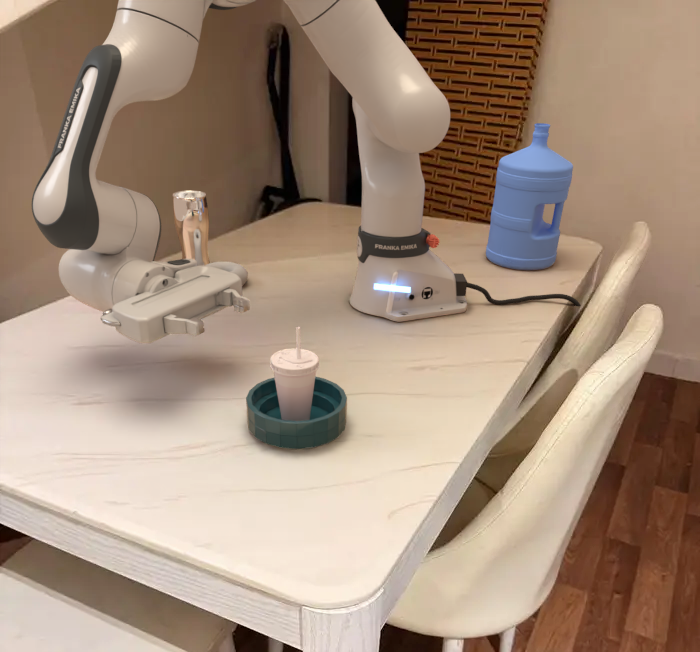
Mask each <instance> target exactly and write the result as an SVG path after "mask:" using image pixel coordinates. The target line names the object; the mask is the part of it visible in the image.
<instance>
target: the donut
mask: <svg viewBox="0 0 700 652" xmlns="http://www.w3.org/2000/svg"><path fill="white" fill-rule="evenodd" d="M204 266H211V267H215V268H218V269H222V270H225V271H228V272H231V273H234V274H236V275H238V276H239V278H240V279H241V282H242V286H244V284H246V283H247V282H248V279H249V272H248V270H247V269H246V268H245V266H243V265H242V264H240V263H238V262H233V261H213V262H210V263H209V264H207V265H204Z"/></svg>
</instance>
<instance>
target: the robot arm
mask: <svg viewBox="0 0 700 652" xmlns="http://www.w3.org/2000/svg"><path fill="white" fill-rule="evenodd" d="M256 1H257V0H118V2H117V7H116V12H115V17H114V20H113V24H112V27H111V30H110V31H109V34H108V35H107V37H106V39H105V40H104V42H103V43H102V44H101V45H96V46H94V47H92V48H91V50H90V51H89V52H88V53H87V54H86V56H85V58H84V60H83V62H82V64H81V66H80V69H79V72H78V74H77V77H76V79H75V82H74V84H73V88H72V91H71V94H70V96H69V100H68V103H67V106H66V109H65V112H64V115H63V118H62V121H61V125H60V127H59V130H58V133H57V137H56V140H55V143H54V146H53V148H52V152H51V155H50V157H49V160H48V163H47V165H46V166H45V169H43V172H42V174H41V176H40V177H39V180H38V181H37V183H36V185H35V188H34V190H33V194H32V197H31V213H32V216H33V218H34V221H35V224H36V226H37V228H38V229H39V231H40V232H41V233H42V235H43V236H44V238H45V239H46V240H47V241H48V242H49V243H50V244H52V246H54V247H55V248H59V249H63V250H64V249H65V250H66V251H65V252H64V253H63V254H62V256H61V258H60V260H59V262H58V263H59V264H58V276H59V280H60V283H61V285H62V286H63V288H64V289H65V291H66V292H67V293H68V294H69V296H71V297H72V298H73V299H75V300H77V301H78V302H80V303H82V304H83V305H86V306H88V307H90V308H92V309H95V310H97V311H100V312H102V315H101V316H100V321H101V323H102V324H103V325H107V326H110V327H113V328H114V329H115V330H116V332H117V333H119V334H120V335H122V336H123V337H124V338H128V339H130V340H131V341H134V342H136V343H139V344H152V343H154V342H156V341H158V340H160V339H162V338H165V337H168V336H169V335H190V336H192V337H193V336H194V337H197V336H199V335H201V334H203V333H204V332H205V323H204V321H203V319H205V318H208V317H209V316H211V315H214V314H215V313H218V312H221V311H222V310H225V309H226V308H229V307H230V308H231V307H233V311H234V312H236V313H240V314H244V313H245V312H248V311H250V310H251V301H250V299H249V298H248V297H245V296H243V285H242V282H241V279H240V278H239V276H238V275H236V274H234V273H231V272H228V271H225V270H222V269H218V268H215V267H211V266H204V265H200V266H197V261H196V260H193V259H182V258H180V259H174V260H168V261H158V260H157V261H156V260H155V259H156V256H157V253H158V250H159V246H160V242H161V236H162V219H161V214H160V212H159V210H158V207H157V205H156V204H155V202H154V200H153V199H151V198H150V197H149V196H148V195H147V194H145V193H141V192H138V191H136V190H132V189H130V188H127V187H123V186H121V185H115V184H113V183H109V182H106V181H104V180H100V179H98V178H97V169H98V165H99V163H100V160H101V156H102V153H103V150H104V147H105V144H106V140H107V138H108V135H109V132H110V129H111V126H112V123H113V120H114V118H115V117H116V115H117V114H118V112H120V110H121V109H123V108H124V107H126V106H127V105H129V104H134V103H138V102H139V103H140V102H154V101H156V102H157V101H163V100H167V99H168V98H171V97H173V96H175V95H177V94H178V93H180V92H181V91H182V90H183V89H184V88H186V86H187V85H188V82H189V81H190V79H191V76H192V74H193V71H194V68H195V64H196V60H197V55H198V49H199V45H200V41H201V34H202V29H203V22H204V19H205V17H206V14H207V12H208V10H209V9H211V10H212V9H213V10H218V11H228V10H234V9H237V8H238V7H242V6H243V7H244V6H246V5H249V4H251V3H252V4H253V3H254V2H256ZM282 1H283V2H284V3H285V4H286V5H287V6H288V8H289V11H290V12H291V13H292V15H293V16H294V18H295V20H296V21H297V23H298V24H299V26H300V27H301V29H302V30H303V32H304V33H305V35H306V36H307V38H308V40H309V41H310V42H311V44H312V45H313V47H314V48H315V50H316V51H317V53H318V54H319V56H320V57H321V59H322V60H323V62H324V63H325V65H326V66H327V68H328V70H329V71H330V72H331V74H332V75H333V76H334V77H335V78H336V79H337V80H338V81H339V83H341V85H342V86H343V87H344V88H345V90H346V91H347V93H349V95H350V96H351V98H352V99H351V100H352V103H351V104H352V105H351V106H352V111H353V114H354V118H355V124H356V125H355V126H356V135H357V146H358V155H359V163H360V172H361V205H360V207H361V208H360V209H361V211H360V225H359V226H358V230H357V231H358V232H357V236H356V256H357V259H358V260H357V267H356V274H355V279H354V282H353V283H354V284H353V288H352V291H351V295H350V297H349V300H348V301H349V304H350V306H351V307H353V308H354V309H355V310H357V311H359V312H362V313H364V314H368V315H371V316H376V317H381V318H384V319H387V320H390V321H393V322H398V323H401V322H409V321H415V320H421V319H428V318H435V317H441V316H449V315H455V314H461V313H465V312H466V311H467V309H468V301H467V299H466V294H467V288H468V289H472V290H475V291H478V292H480V293H482V294H483V296H484V297H485V299H486V300H487V302H489V303H490V304H492V305H496V306H504V305H505V306H506V305H512V304H519V303H523V302H528V301H529V302H530V301H543V300H552V299H553V300H555V299H556V300H557V299H559V300H565V301H568V302H570V303H572V305H574V307H581V306H582V305H581V304H580V302H579V301H578V300H577V299H576V298H574V297H573V296H571V295H568V294H565V293H549V294H537V295H535V294H534V295H525V296H521V297H517V298H507V299H494V298H493V297H492V296H491V294H490V293H489V292H488V289H485V288H484V287H482V286H480V285H478V284H474V283H471V282H468V281H467V279H466V277H465V274H464V273H457V272H456V273H454V271H453V269H452V268H451V267H450V266H449V265H448V264H447V263H446V262H444V261H443V260H442V259H441V257H439V256H438V255H437V254H436V253H434V251H432V250H431V249H436V248H438V246H439V245H440V239H439V237H437V236H436V235H435V234H433V233H431V232H429V231H428V230H426V229H425V228H423V217H424V207H425V206H424V205H425V194H426V184H425V183H426V182H425V178H424V175H423V172H422V167H421V160H420V154H422V153H427V152H430V151H432V150H433V149H435V148H436V147H438V145H440V144H441V143H442V141H443V140H444V139H445V136H446V135H447V133H448V130H449V128H450V124H451V109H450V104H449V101H448V100H447V98H446V96H445V95H444V93H443V92H442V91H441V90H440V89H439V88H438V86H436V84H435V83H434V81H433V80H432V79H431V77H430V76H429V74H428V73H427V72H426V69H424V67H423V66H422V65H421V63H420V62H419V61H418V59H417V58H416V57H415V55H414V54H413V53H412V51H411V50H410V49H409V47H408V46H407V44H405V42H404V41H403V40H402V38H401V37H400V36H399V34H398V32H396V31H395V30H394V27H393V26H391V24H390V22H389V21H388V19H387V17H386V16H385V14H384V12H383V11H382V9H381V8H380V6H379V4H378V2H377V0H282ZM430 248H431V249H430Z"/></svg>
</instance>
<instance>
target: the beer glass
mask: <svg viewBox="0 0 700 652" xmlns="http://www.w3.org/2000/svg"><path fill="white" fill-rule="evenodd" d="M172 211H173V219H174V225H175V231H176V234H177V237H178V240H179V244H180V248H181V259H193V260H196V261H197V266H200V265H207V264H209V263H211V261H210V257H209V250H208V249H209V248H208V246H209V245H208V243H209V232H210V213H209V212H210V211H209V205H208V199H207V193H206V192H204V191H200V190H193V189H192V190H191V189H190V190H187V189H186V190H179V191H175V192H173V193H172Z"/></svg>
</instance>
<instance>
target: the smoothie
mask: <svg viewBox="0 0 700 652" xmlns="http://www.w3.org/2000/svg"><path fill="white" fill-rule="evenodd" d="M301 329H302V328H301V326H295V340H296V341H295V343H296V346H295V348H285V349H281V350H278V351H276V352H274V353H273V354H271V356H270V360H269V361H270V362H269V363H270V364H269V366H270V369H271V370H272V372H273V378H275V383H276V389H277V395H278V401H279V407H280V413H281V418H282V420H291V421H302V420H310V412H311V405H312V398H313V390H314V383H315V376H316V374H317V370H318V369H319V367H320V358H319V356H318V355H317V354H316V353H315V352H314V351H311V350H308V349H306V348H305V349H304V348H302V341H301V340H302V339H301V338H302V335H301V333H302V332H301V331H302V330H301ZM316 377H317V376H316Z"/></svg>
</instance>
